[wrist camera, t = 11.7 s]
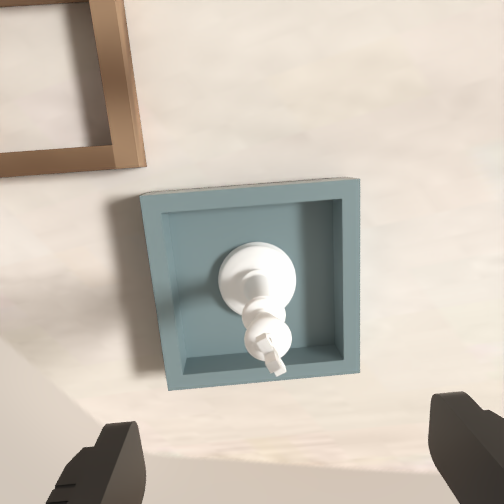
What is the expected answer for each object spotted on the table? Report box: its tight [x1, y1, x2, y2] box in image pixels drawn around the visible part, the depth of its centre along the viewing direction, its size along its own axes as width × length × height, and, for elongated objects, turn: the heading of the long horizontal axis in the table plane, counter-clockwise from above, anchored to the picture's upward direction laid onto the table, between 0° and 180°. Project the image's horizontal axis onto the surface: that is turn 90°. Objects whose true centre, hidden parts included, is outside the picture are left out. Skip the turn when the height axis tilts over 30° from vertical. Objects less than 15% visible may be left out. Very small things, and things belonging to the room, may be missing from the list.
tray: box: [139, 177, 360, 391], centre depth 22 cm, size 12×12×3 cm
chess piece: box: [218, 242, 296, 377], centre depth 18 cm, size 5×5×10 cm
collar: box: [0, 0, 147, 177], centre depth 19 cm, size 10×10×2 cm
